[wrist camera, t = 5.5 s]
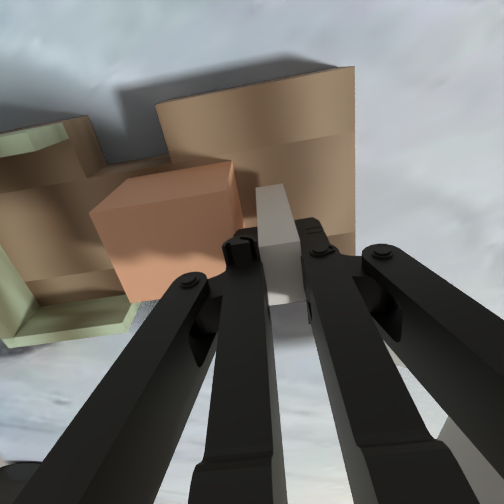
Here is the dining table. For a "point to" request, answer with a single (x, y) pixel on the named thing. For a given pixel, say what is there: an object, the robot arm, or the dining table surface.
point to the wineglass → (469, 459)
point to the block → (169, 226)
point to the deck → (180, 157)
